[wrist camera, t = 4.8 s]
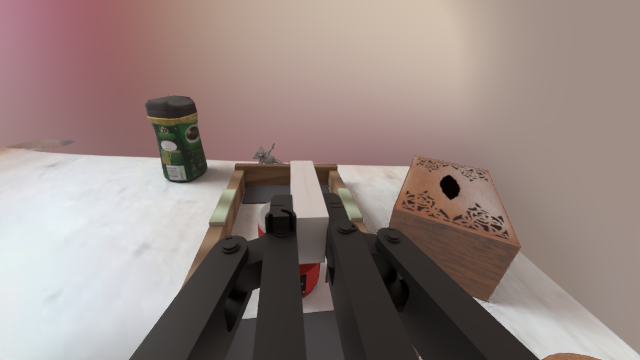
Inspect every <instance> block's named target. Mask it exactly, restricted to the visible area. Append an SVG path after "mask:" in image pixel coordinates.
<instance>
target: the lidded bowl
mask: <svg viewBox="0 0 640 360" xmlns="http://www.w3.org/2000/svg"><path fill="white" fill-rule="evenodd" d="M542 360H600V359H597V358H594V357H590V356H586V355H580V354H573V353H558V354H554V355H549V356H547V357H546V358H544V359H542Z"/></svg>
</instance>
